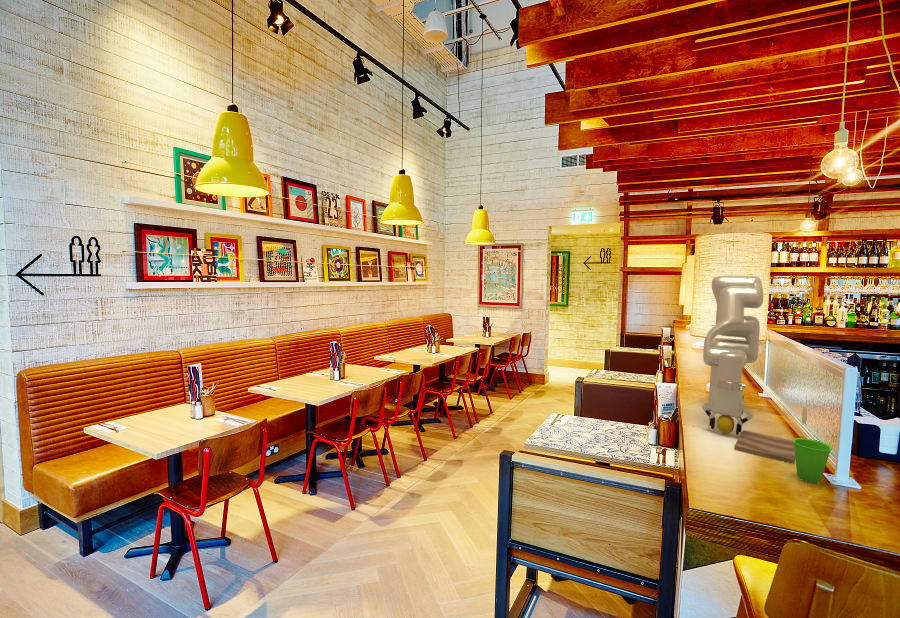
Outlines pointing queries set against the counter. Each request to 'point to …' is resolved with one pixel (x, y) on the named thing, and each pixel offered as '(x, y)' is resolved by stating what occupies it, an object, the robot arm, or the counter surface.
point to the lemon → (725, 424)
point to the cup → (810, 458)
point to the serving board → (766, 446)
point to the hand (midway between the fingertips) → (725, 430)
